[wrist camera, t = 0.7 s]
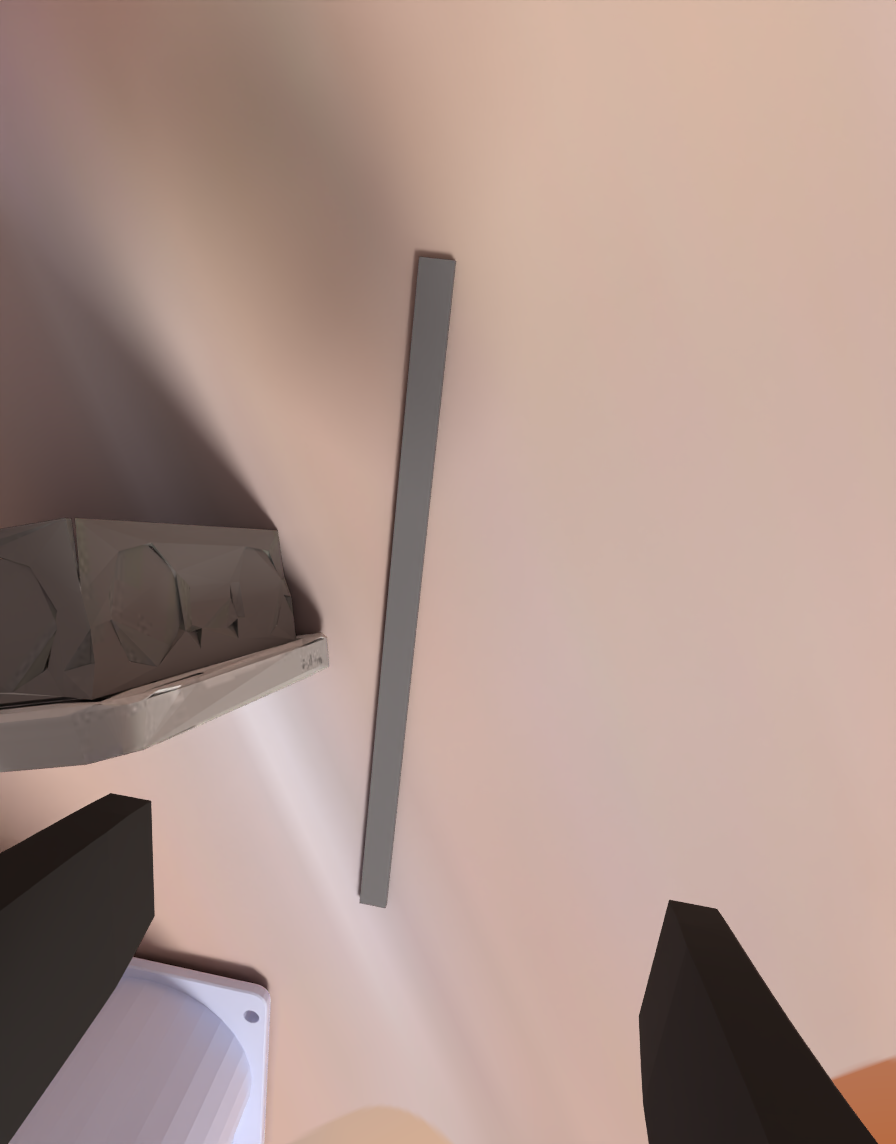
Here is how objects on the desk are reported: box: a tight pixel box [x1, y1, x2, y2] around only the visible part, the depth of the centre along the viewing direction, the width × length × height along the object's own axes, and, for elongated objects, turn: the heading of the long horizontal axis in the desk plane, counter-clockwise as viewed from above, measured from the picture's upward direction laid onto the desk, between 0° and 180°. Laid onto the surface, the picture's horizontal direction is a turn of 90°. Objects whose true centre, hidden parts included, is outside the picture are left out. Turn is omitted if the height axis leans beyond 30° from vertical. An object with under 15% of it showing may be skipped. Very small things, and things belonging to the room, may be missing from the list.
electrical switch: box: [0, 518, 329, 772], centre depth 16 cm, size 9×5×9 cm, turn 101°
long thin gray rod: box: [360, 257, 456, 908], centre depth 19 cm, size 18×1×1 cm, turn 173°
